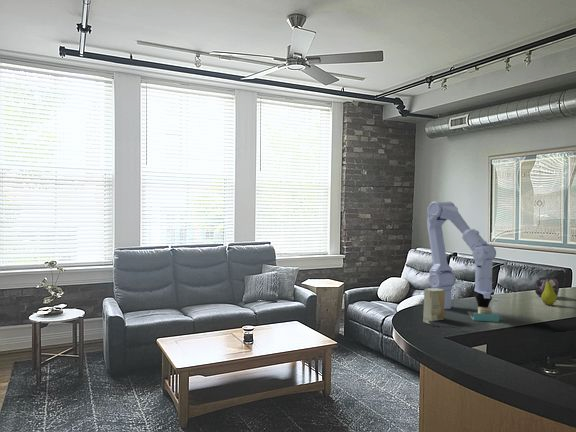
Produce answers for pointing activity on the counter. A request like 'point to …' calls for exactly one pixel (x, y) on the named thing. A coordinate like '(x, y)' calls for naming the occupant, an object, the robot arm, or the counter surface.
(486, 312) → the maple block
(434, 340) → the counter surface
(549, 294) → the fruit
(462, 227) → the robot arm
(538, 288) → the mineral specimen
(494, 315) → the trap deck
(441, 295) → the skincare box
